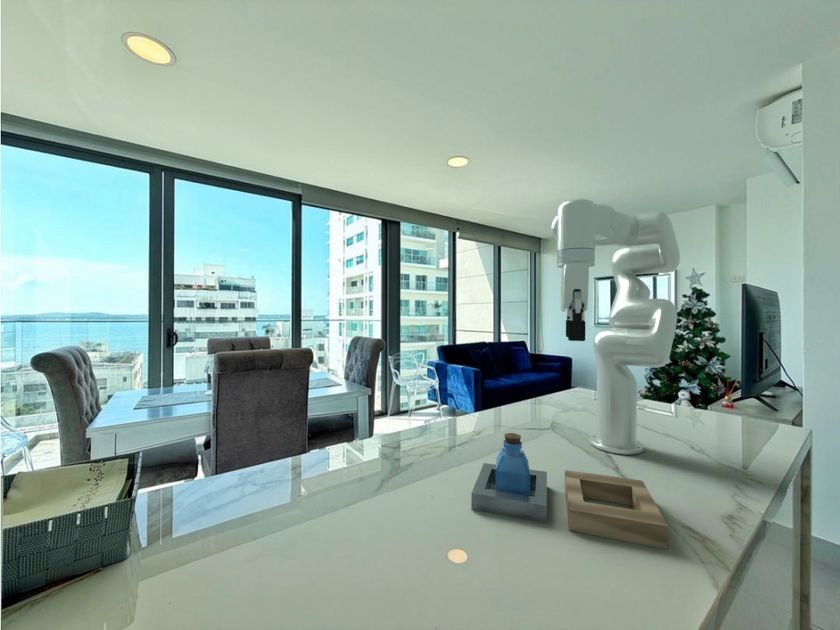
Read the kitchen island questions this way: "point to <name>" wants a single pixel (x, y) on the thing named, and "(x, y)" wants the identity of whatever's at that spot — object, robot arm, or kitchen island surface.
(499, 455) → the perfume bottle
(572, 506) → the tan square frame
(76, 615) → the kitchen island surface
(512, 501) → the block
